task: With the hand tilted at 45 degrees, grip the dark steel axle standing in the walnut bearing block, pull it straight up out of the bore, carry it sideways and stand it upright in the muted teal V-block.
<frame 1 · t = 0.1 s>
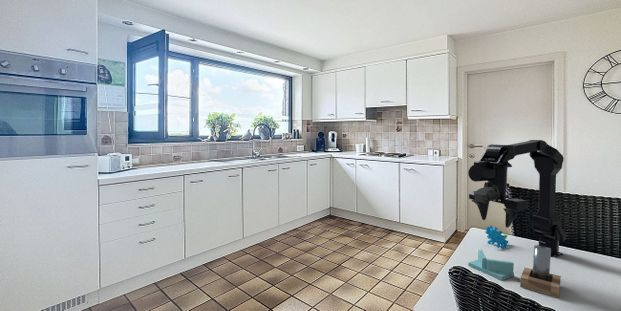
hand: (495, 223, 105), 15 cm above the table, tool pointing down, fingers open, 9 cm apart
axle: (541, 266, 90), in the bearing block
gear: (497, 246, 123), on the table
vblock: (493, 269, 101), on the table
bearing block: (540, 285, 90), on the table
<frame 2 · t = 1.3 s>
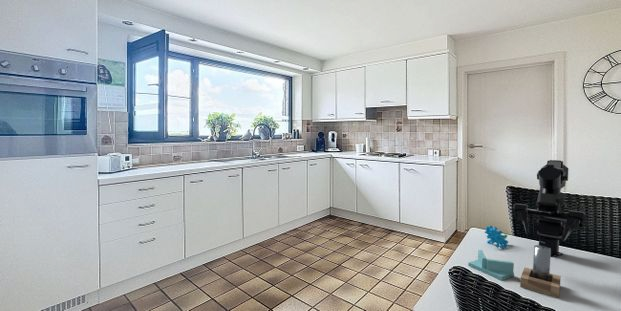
hand: (544, 237, 95), 13 cm above the table, tool tilted 45°, fingers open, 9 cm apart
nothing on the table moved.
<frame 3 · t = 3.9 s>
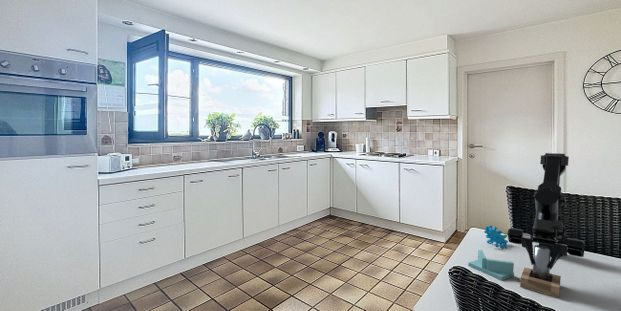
hand: (541, 266, 89), 7 cm above the table, tool tilted 45°, fingers closed on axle, 4 cm apart
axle: (541, 266, 90), in the bearing block, touching gripper
everything else where it was.
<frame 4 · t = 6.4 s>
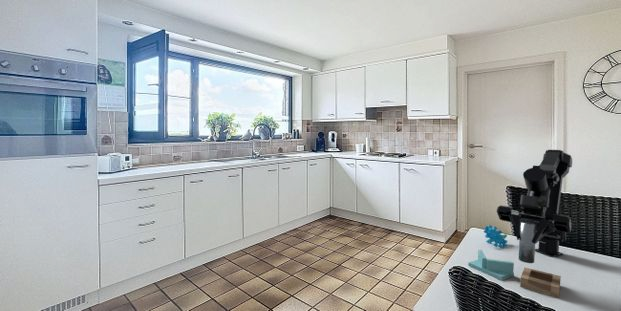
hand: (526, 241, 91), 13 cm above the table, tool tilted 45°, fingers closed on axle, 4 cm apart
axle: (527, 241, 92), point 13 cm above the table, touching gripper
everything else where it was.
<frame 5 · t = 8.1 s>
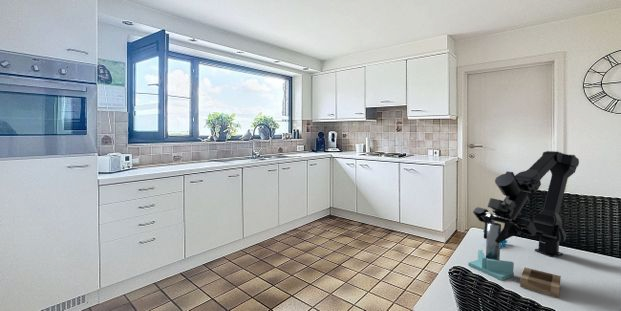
hand: (490, 240, 99), 11 cm above the table, tool tilted 45°, fingers closed on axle, 4 cm apart
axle: (493, 241, 100), point 10 cm above the table, touching gripper
everything else where it was.
when the fingers open (9 cm above the table, at t = 9.1 s): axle drops 1 cm, resting on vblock.
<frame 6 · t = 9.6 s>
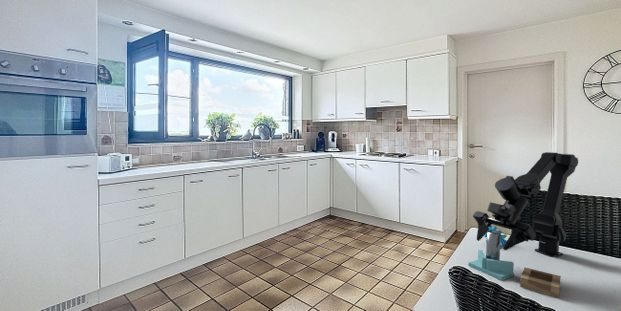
hand: (490, 244, 99), 9 cm above the table, tool tilted 45°, fingers open, 9 cm apart
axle: (493, 249, 100), point 7 cm above the table, touching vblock
everything else where it was.
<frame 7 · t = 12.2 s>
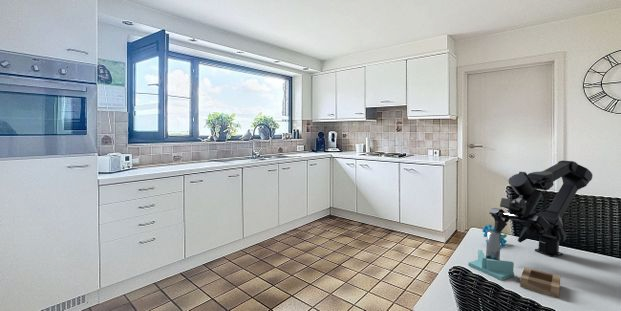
hand: (506, 238, 104), 10 cm above the table, tool tilted 40°, fingers open, 9 cm apart
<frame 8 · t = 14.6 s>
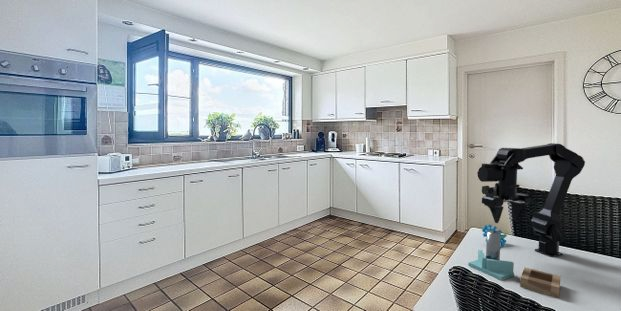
hand: (505, 221, 112), 13 cm above the table, tool pointing down, fingers open, 9 cm apart
at the end: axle 0.1 cm off-centre on the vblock, point 7.2 cm above the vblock's base; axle tilted 0°; the gripper is holding nothing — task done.
